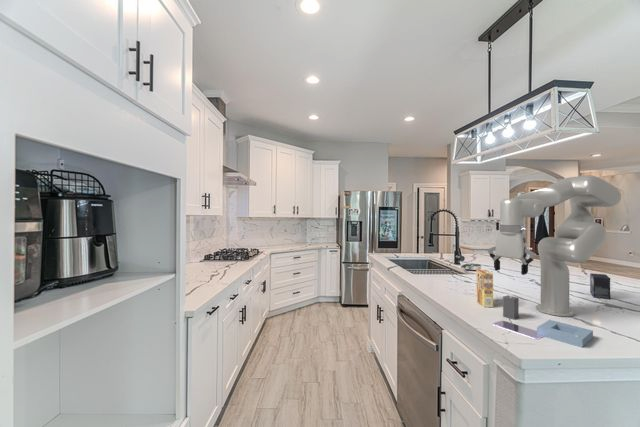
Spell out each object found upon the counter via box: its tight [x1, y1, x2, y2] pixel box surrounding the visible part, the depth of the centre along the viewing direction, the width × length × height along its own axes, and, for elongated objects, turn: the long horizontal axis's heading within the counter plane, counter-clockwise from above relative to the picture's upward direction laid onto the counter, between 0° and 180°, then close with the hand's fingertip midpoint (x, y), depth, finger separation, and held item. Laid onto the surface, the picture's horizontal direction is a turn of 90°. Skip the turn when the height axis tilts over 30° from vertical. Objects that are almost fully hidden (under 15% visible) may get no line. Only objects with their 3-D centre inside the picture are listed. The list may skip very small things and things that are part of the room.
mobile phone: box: [491, 320, 544, 341], centre depth 105 cm, size 8×1×15 cm
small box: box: [589, 272, 611, 300], centre depth 146 cm, size 11×6×10 cm, turn 144°
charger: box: [502, 294, 520, 320], centre depth 117 cm, size 4×4×8 cm
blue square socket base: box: [536, 319, 594, 348], centre depth 99 cm, size 12×12×3 cm
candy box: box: [476, 268, 494, 308], centre depth 133 cm, size 9×4×15 cm, turn 171°
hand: (510, 272), depth 117 cm, fingers open, 9 cm apart
